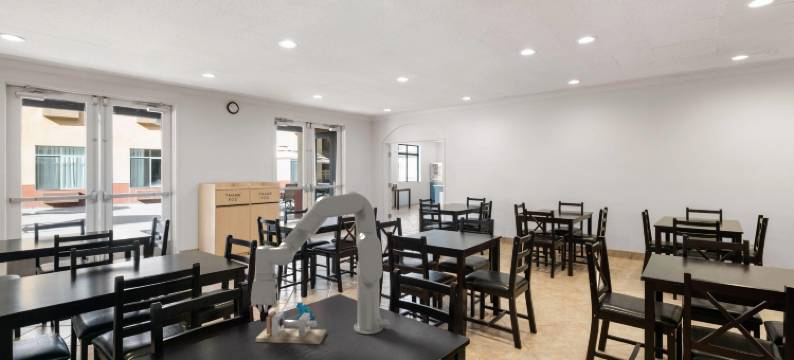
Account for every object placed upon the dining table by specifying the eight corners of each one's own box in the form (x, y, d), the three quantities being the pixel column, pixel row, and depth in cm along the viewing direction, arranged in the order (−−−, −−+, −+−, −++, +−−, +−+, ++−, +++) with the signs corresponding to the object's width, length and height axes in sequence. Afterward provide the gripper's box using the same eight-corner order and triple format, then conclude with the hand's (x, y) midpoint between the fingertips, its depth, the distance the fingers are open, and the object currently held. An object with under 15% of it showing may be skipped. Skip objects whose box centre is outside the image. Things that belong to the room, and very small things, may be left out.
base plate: (326, 333, 164) (326, 329, 164) (319, 343, 154) (319, 340, 154) (265, 331, 166) (265, 328, 166) (255, 341, 156) (255, 338, 156)
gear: (309, 320, 173) (295, 303, 175) (300, 329, 174) (285, 312, 175) (318, 314, 184) (304, 298, 186) (309, 323, 184) (295, 307, 186)
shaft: (318, 329, 162) (318, 312, 162) (314, 335, 156) (313, 317, 156) (272, 327, 163) (272, 311, 163) (266, 333, 157) (266, 316, 157)
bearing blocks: (309, 330, 163) (309, 312, 163) (304, 337, 156) (304, 319, 156) (278, 329, 164) (278, 312, 164) (271, 336, 157) (271, 318, 157)
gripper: (286, 274, 163) (285, 318, 164) (251, 273, 164) (250, 316, 165) (279, 279, 156) (278, 325, 156) (243, 277, 157) (242, 323, 157)
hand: (264, 320), depth 160 cm, fingers closed
